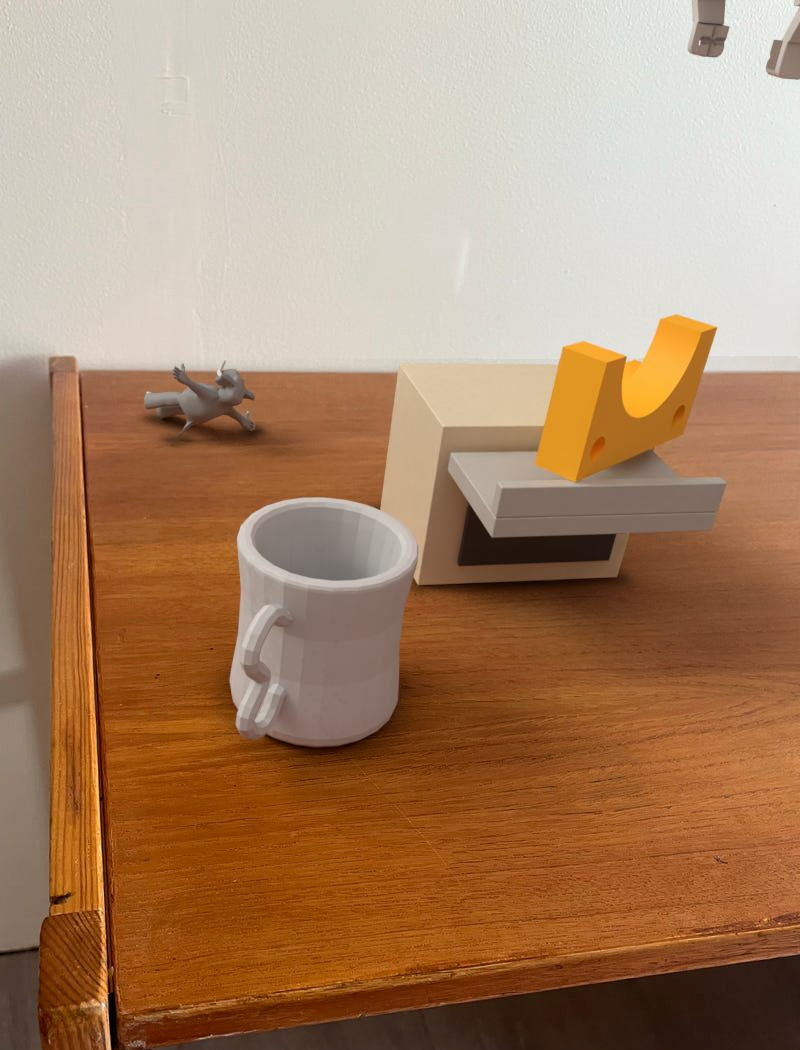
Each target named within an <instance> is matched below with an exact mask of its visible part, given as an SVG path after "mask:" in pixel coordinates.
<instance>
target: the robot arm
mask: <svg viewBox="0 0 800 1050" xmlns="http://www.w3.org/2000/svg"><path fill="white" fill-rule="evenodd" d="M726 1H727V0H691V11H692V14H691V16H692V22H693V23H692V27H691V31H690V35H689V39H688V42H687V43H688V44H687V51H688V53H689V54H690V55H693V56H697V57H702V58H718V57H720V56H721V55H722V54H723V52H724V50H725V42H726V40H727V38H728V34H729V31H730V26H729V25H725V14H726ZM793 5H794V7H798V8H797V11H796V12H795V14H794V16H793V18H792V20H791V22H790V23H789V25H788V27H787V29H786V31H785V33H784V35H783V37H782V38H781V39H773V41H772V45H771V48H770V51H769V59H768V60H767V62H766V65H765V71H766V73H767V75H769V76H772V77H775V78H779V79H784V80H795V81H799V80H800V0H794V2H793Z"/></svg>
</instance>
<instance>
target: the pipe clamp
mask: <svg viewBox="0 0 800 1050" xmlns="http://www.w3.org/2000/svg"><path fill="white" fill-rule="evenodd" d="M717 330H718V326H715V325H712V324H709V323H707V322H706V323H705V322H703V321H700V320H696V319H693V318H689V317H687V316H684V315H681V314H676V313H675V314H673V315H669V316H666V317H662V318H660V319H659V321H658V324H657V328H656V331H655V333H654V335H653V338H652V340H651V343H650V345H649V347H648V349H647V351H646V353H645V355H644V358H643V359H642V361H640V360H637V359H633V360H629V361H627V358H628V356H627V355H625V354H622V353H619V352H616V351H613V350H611V349H608V348H605V347H602V346H600V345H596V344H594V343H590V342H587V341H585V340H581V341H579V342H575V343H571V344H567V345H564V346H562V348H561V352H560V357H559V362H558V364H559V365H558V369H557V374H556V378H555V382H554V386H553V390H552V395H551V399H550V403H549V407H548V411H547V416H546V420H545V424H544V428H543V432H542V436H541V441H540V445H539V449H538V453H537V457H536V462H535V465H536V466H539V467H541V468H543V469H546V470H548V471H550V472H552V473H555V474H557V475H559V476H562V477H564V478H566V479H568V480H571V481H573V482H577V481H580V480H582V479H584V478H586V477H589V476H591V475H593V474H595V473H598V472H600V471H602V470H604V469H607V468H609V467H611V466H613V465H616V464H618V463H620V462H622V461H625V460H627V459H629V458H631V457H634V456H636V455H638V454H640V453H642V452H645V451H647V450H649V449H651V448H654V447H655V448H656V447H659V446H660V445H663V444H665V443H667V442H670V441H672V440H674V439H676V438H678V437H680V436H683V435H684V433H685V431H686V427H687V425H688V421H689V418H690V415H691V412H692V408H693V405H694V403H695V399H696V397H697V393H698V389H699V387H700V384H701V380H702V377H703V374H704V371H705V368H706V364H707V362H708V358H709V355H710V352H711V349H712V345H713V343H714V339H715V336H716V333H717ZM655 448H654V449H655Z"/></svg>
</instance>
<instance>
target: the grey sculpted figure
mask: <svg viewBox="0 0 800 1050" xmlns="http://www.w3.org/2000/svg"><path fill="white" fill-rule="evenodd" d="M226 362H227V361H226V360H223V361H222V363H221V364H220V366H219V367H218V369H217V371H216V374H217V375H216V377H215V378H214V382H215V383H216V384H217V386H219V387H220V386H221V387H220V388H219V387H217V386H216V385H210V384H209V383H206V382H200V381H199V382H196V381H194V380H192V379H191V378H189V377H188V375H187V373H186V367H185V363H181V364H180V368H181V369H180V368H179V367H178V366H177V365H174V366H173V368H172V371H173V372H172V375H173V378H174V379H175V380H176V381H177V382H178V383H180V384H182V385H184V386H186V388H185V389H184V390H183V392H180V391H164V392H151V391H146V393H145V395H144V398H143V405H144V408H145V409H146V410H154V409H156V415H157V417H158V418H159V419H165V418H171V417H175V416H185V417H186V423H185V425H184V427H183V428H182V430H181V431H180V432H179V433H178V434H177V436H176V440H178V439H180V437H182V436H183V434H185V433H186V432H187V431H188V430H189V429H190V428H191V427H192V426H193V425H203V424H205V423H207V422H210V421H212V420H215V419H216V418H219V417H222V416H228V417H230V418H231V419H233V420H235V421H237V423H239V425H240V426H241V427H242V428H243V429H244V430H247V431H249V432H252V431H254V430H255V428H256V425H255V424H256V422H255V421H252V420H251V419H250V418H249V416H250V411H248V410H247V411H246V413H244V414H243V415H242V414H241V413H240V412H239V411H238V410H237V409H236V408H235V407H237V406H239V405H241V404H242V403H243V400H244V399H245V400H250V401H255V399H256V397H255V394H254V393H253V392H252V391H250V390H249V389H248V388H246V385H245V380H244V379H243V378H242V377H241V374H240V373H239V371H238V370H237V368H227V369H224V367H225V365H226Z"/></svg>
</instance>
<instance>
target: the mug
mask: <svg viewBox="0 0 800 1050" xmlns="http://www.w3.org/2000/svg"><path fill="white" fill-rule="evenodd" d="M236 546H237V547H236V548H237V559H238V568H239V569H238V570H239V580H240V583H239V584H240V599H239V601H240V602H239V613H238V614H239V615H238V626H237V627H238V630H237V637H236V642H235V647H234V652H233V657H232V662H231V666H230V667H231V668H230V675H229V686H230V691H231V698H232V702H233V704H234V705H235V708H236V709H237V712H236V718H235V727H236V729H237V731H238V733H239V735H241V737H242V738H243V739H245V740H250V741H251V740H252V741H258V740H259V739H260V740H261V738H263V737H265V736H266V735H267V736H269V737H271V738H273V739H275V740H278V741H281V742H284V743H287V744H291V745H295V746H302V747H308V748H309V747H311V748H330V747H331V748H333V747H340V746H345V745H349V744H351V743H356V742H358V741H361V740H362V739H364V738H366V737H369V736H370V735H372V734H374V733H376V732H378V731H379V730H380V729H381V728H382V727H383V726H384V725H386V724H387V723H388V722H389V721H390V719H391V717H392V715H393V713H394V711H395V709H396V707H397V704H398V701H399V688H400V687H399V686H400V645H401V638H402V629H403V621H404V614H405V608H406V604H407V601H408V596H409V594H410V590H411V587H412V583H413V580H414V574H415V570H416V567H417V563H418V548H419V546H418V544H417V542H416V540H415V538H414V536H413V534H412V532H411V531H410V530H409V529H408V528H407V527H406V526H405V525H404V524H403V523H402V522H401V521H399V520H397V519H396V518H394V517H392V516H391V515H389V514H388V513H386V512H384V511H381V510H380V509H378V508H377V507H374V506H371V505H370V504H369V505H368V504H365V503H360V502H358V501H357V502H356V501H353V500H348V499H344V498H343V499H342V498H332V497H324V496H323V497H322V496H321V497H320V496H319V497H298V498H291V499H285V500H284V499H283V500H281V501H277V502H274V503H270V504H268V505H265V506H263V507H261V508H259V509H258V510H256V511H254V512H253V513H251V514H250V515H249V516H248V517H247V518H246V519H245V520H244V522H243V523H242V524H241V525H240V527H239V530H238V533H237V537H236Z"/></svg>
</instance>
